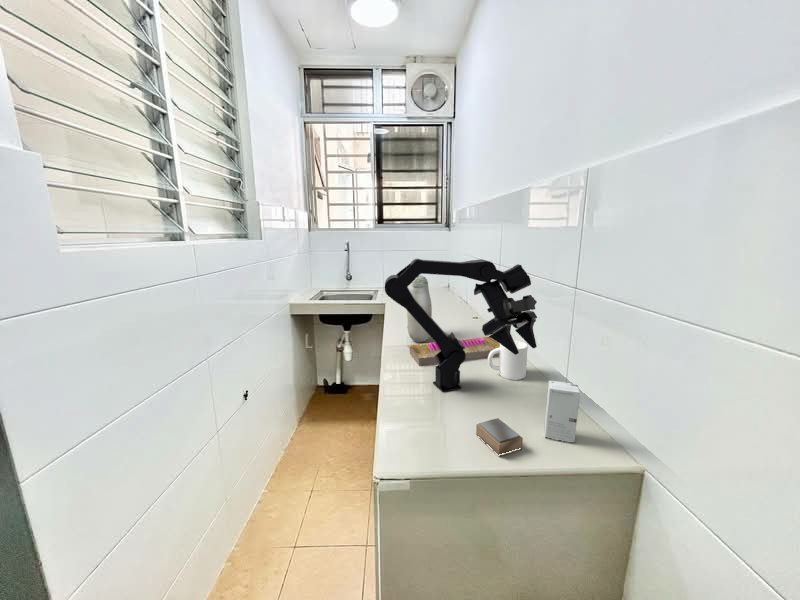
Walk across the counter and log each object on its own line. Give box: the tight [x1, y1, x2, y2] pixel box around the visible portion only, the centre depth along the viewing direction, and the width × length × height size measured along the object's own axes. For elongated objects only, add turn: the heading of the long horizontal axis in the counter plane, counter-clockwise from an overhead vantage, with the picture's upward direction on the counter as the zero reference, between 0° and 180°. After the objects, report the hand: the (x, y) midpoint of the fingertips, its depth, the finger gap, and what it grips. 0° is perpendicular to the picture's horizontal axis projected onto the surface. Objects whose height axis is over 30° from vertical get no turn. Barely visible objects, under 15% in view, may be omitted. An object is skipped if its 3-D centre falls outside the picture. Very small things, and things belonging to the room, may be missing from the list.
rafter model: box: [406, 336, 500, 367], centre depth 123 cm, size 35×14×6 cm, turn 103°
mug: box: [487, 339, 529, 381], centre depth 105 cm, size 12×8×10 cm
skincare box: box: [544, 380, 581, 443], centre depth 73 cm, size 6×4×12 cm
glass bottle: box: [406, 275, 433, 343], centre depth 137 cm, size 10×10×28 cm
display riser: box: [475, 417, 524, 455], centre depth 72 cm, size 6×8×3 cm
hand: (526, 350), depth 87 cm, fingers open, 9 cm apart
